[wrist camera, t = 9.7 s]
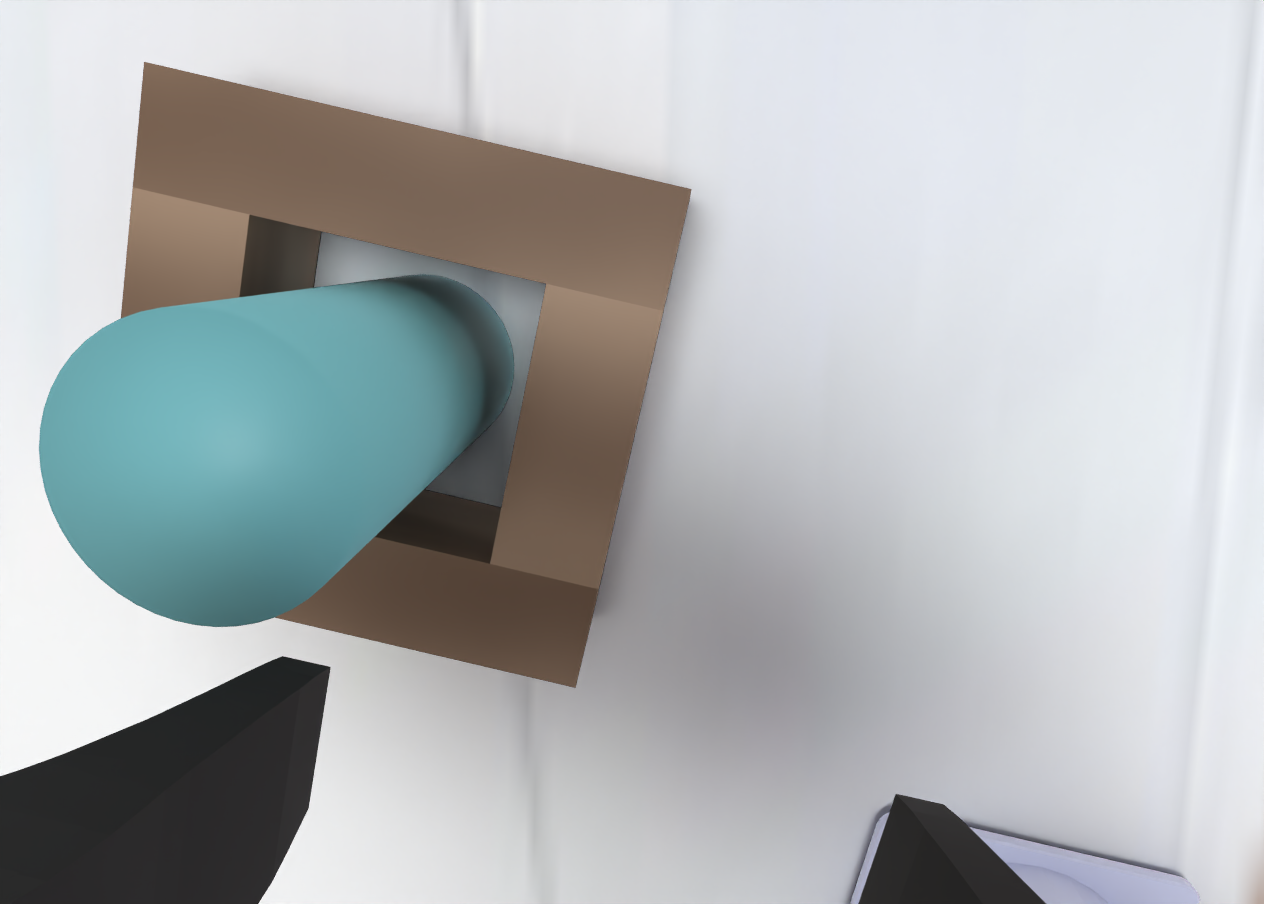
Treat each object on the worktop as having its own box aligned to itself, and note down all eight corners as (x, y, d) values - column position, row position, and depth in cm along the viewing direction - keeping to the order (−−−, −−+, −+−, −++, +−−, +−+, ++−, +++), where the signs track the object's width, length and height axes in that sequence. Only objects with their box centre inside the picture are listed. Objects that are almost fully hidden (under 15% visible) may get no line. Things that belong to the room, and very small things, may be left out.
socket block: (591, 617, 22) (575, 687, 18) (188, 524, 22) (97, 575, 19) (690, 198, 20) (691, 188, 16) (238, 92, 20) (144, 62, 16)
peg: (491, 469, 21) (329, 663, 11) (326, 422, 21) (21, 577, 11) (532, 302, 20) (393, 359, 11) (359, 253, 20) (59, 265, 11)
